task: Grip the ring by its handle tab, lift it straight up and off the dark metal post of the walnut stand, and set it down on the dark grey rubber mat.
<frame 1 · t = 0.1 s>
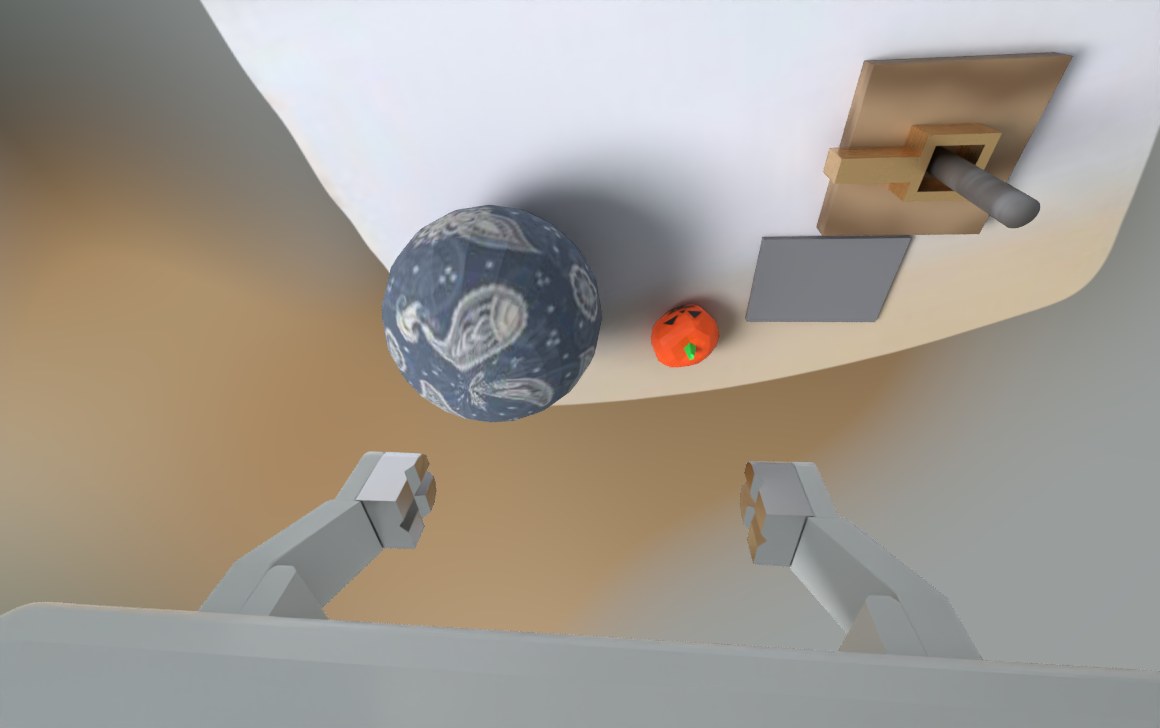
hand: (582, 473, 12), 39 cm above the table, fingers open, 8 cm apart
pumpkin: (682, 323, 56), on the table
stand: (920, 150, 41), on the table
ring: (931, 157, 40), point 2 cm above the table, touching stand
mat: (820, 280, 50), on the table
decorative ball: (515, 264, 52), on the table
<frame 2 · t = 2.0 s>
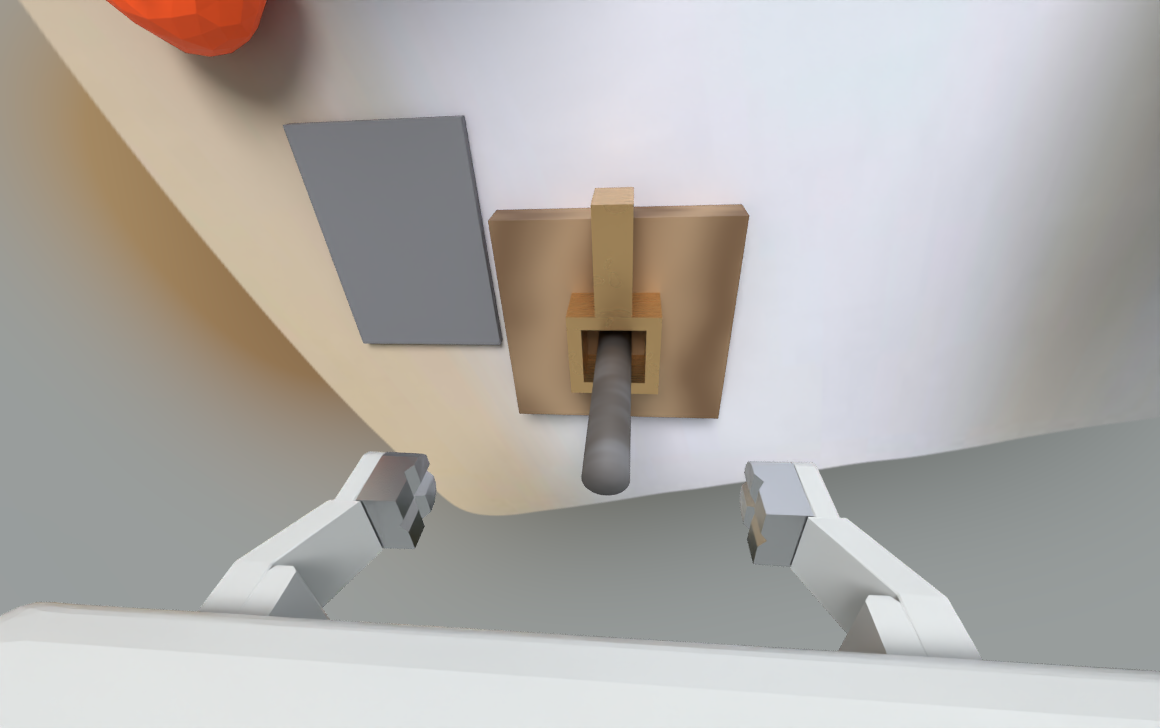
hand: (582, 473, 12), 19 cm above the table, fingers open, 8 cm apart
stand: (616, 315, 31), on the table
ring: (615, 330, 29), point 2 cm above the table, touching stand
mat: (408, 244, 29), on the table
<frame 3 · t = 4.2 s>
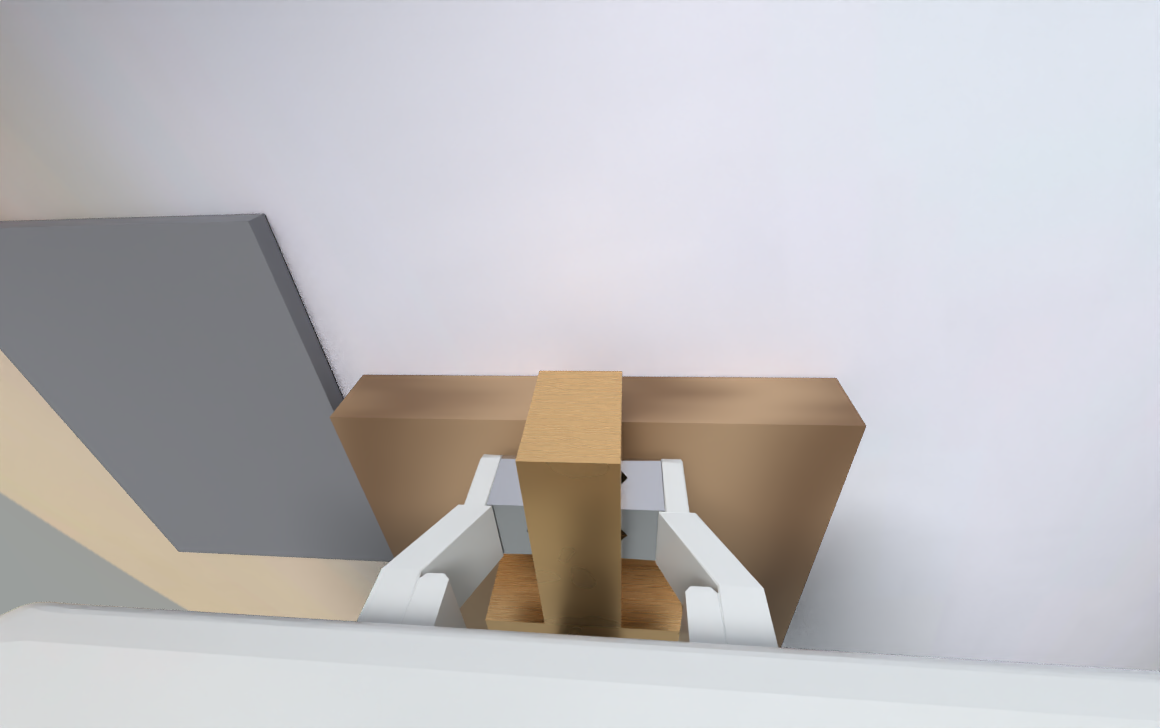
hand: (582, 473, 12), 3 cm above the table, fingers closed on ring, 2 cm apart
stand: (595, 526, 18), on the table
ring: (593, 575, 16), point 2 cm above the table, touching gripper, stand
mat: (216, 420, 16), on the table
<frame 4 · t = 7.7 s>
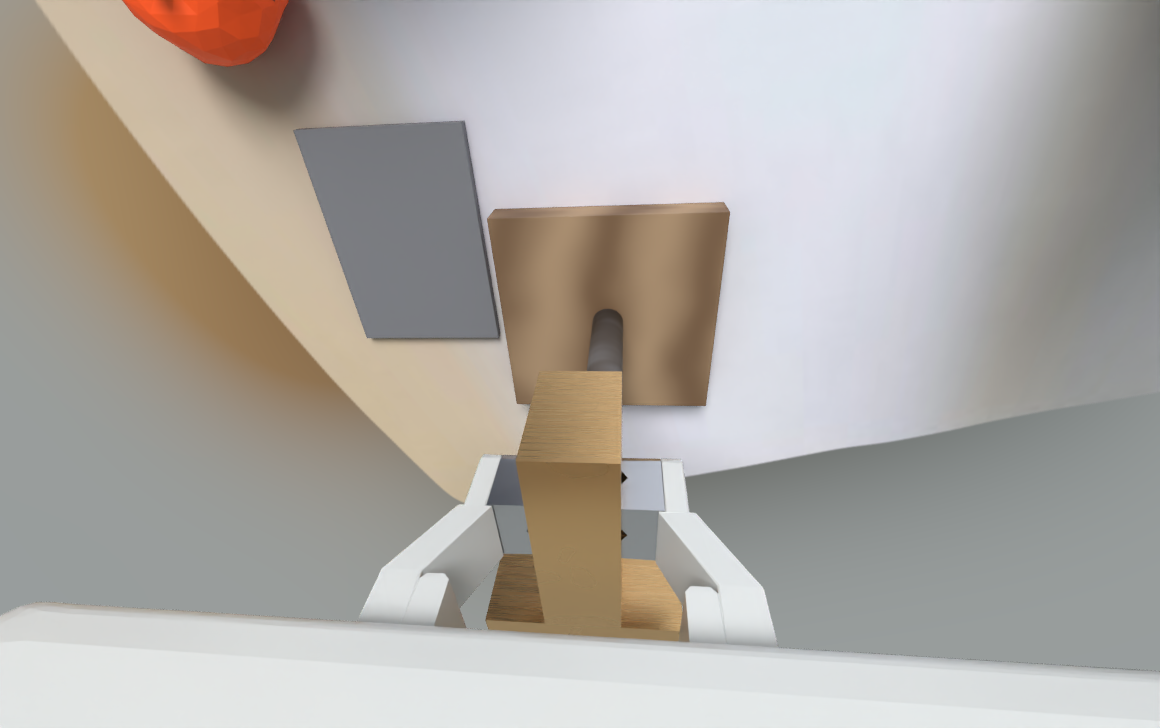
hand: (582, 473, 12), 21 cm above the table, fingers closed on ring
stand: (608, 308, 33), on the table
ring: (593, 575, 16), point 20 cm above the table, touching gripper
mat: (410, 242, 31), on the table
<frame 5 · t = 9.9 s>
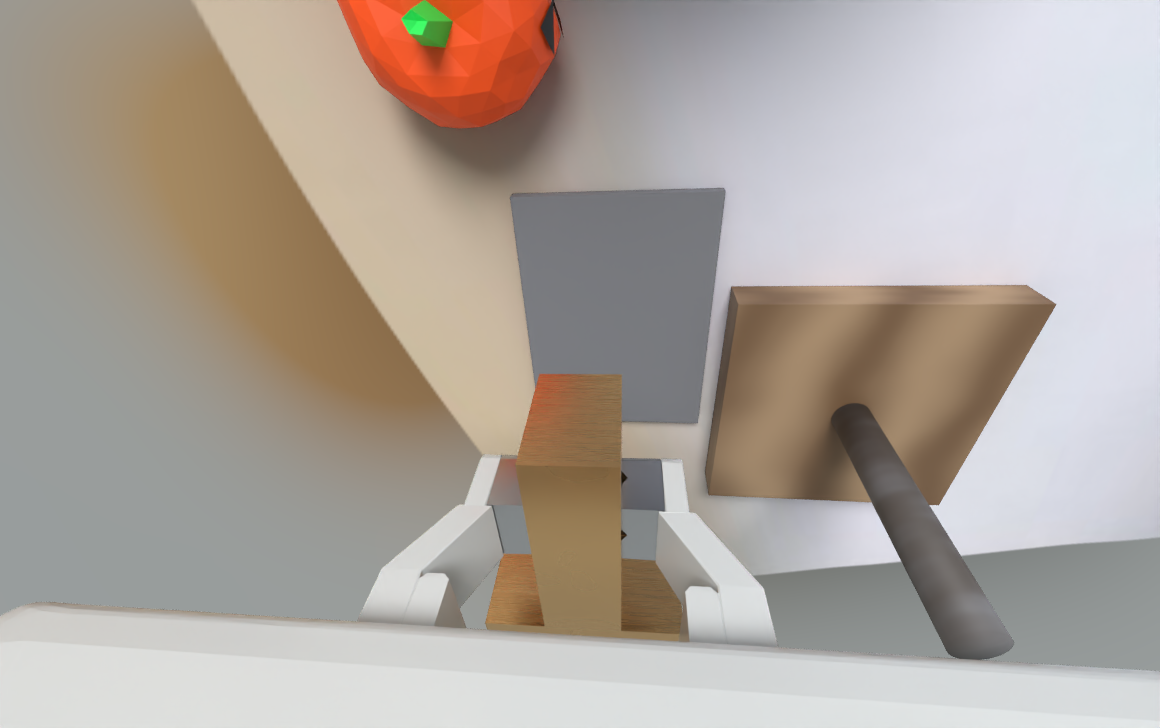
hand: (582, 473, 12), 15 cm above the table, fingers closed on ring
pumpkin: (467, 17, 19), on the table
stand: (838, 394, 28), on the table
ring: (593, 577, 16), point 14 cm above the table, touching gripper
mat: (616, 319, 26), on the table
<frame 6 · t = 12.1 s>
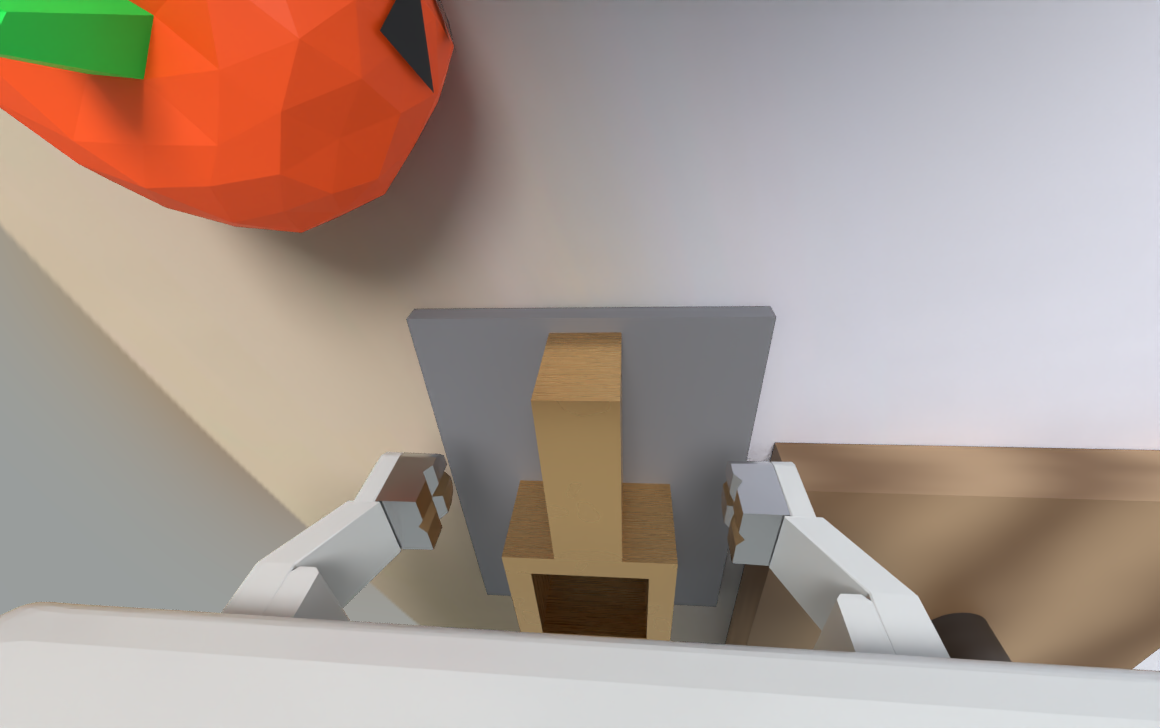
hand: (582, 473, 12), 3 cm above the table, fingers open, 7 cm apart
pumpkin: (292, 11, 10), on the table
stand: (925, 575, 19), on the table
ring: (596, 529, 18), point 1 cm above the table, touching mat
mat: (594, 479, 17), on the table
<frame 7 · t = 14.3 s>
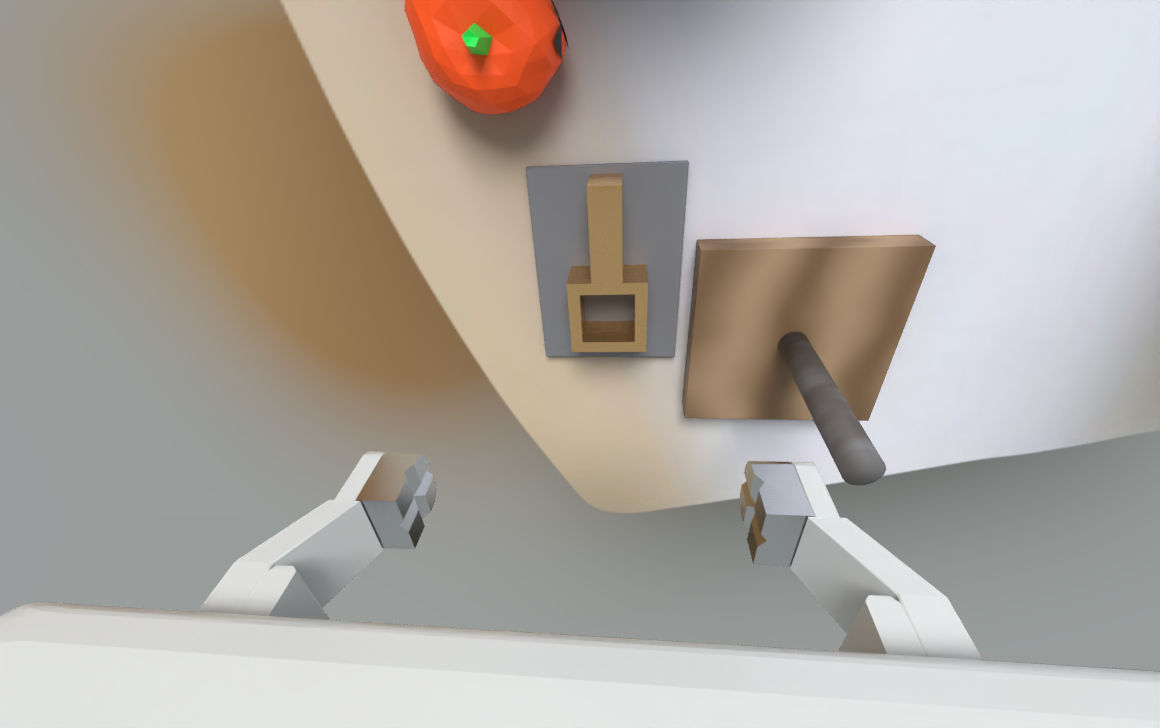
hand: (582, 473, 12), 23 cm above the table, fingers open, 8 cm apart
pumpkin: (496, 33, 26), on the table
stand: (784, 329, 35), on the table
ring: (609, 299, 34), point 1 cm above the table, touching mat
mat: (608, 269, 33), on the table
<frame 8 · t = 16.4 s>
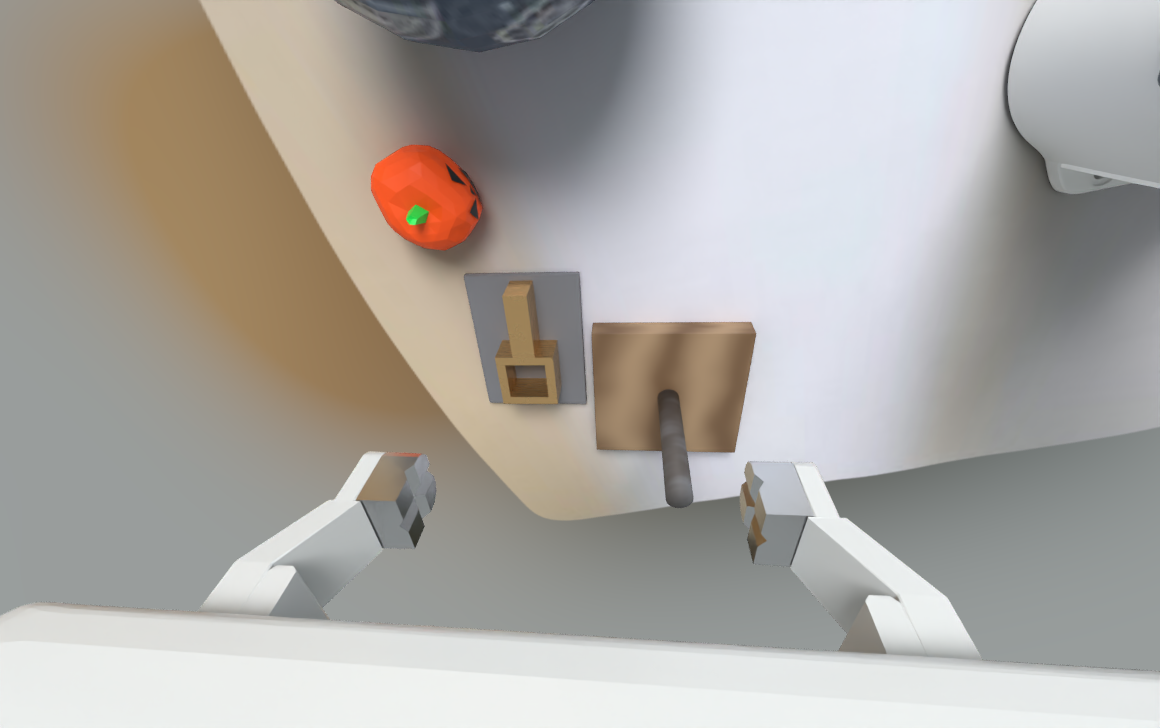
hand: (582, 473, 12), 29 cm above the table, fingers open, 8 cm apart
pumpkin: (438, 190, 38), on the table
stand: (666, 384, 46), on the table
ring: (532, 363, 45), point 1 cm above the table, touching mat
mat: (530, 341, 45), on the table
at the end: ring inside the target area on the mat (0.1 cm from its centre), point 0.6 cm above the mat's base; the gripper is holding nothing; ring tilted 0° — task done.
